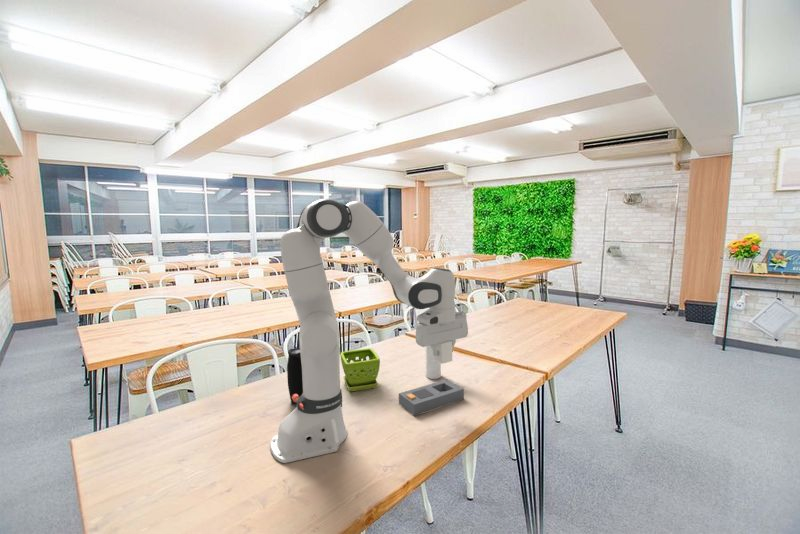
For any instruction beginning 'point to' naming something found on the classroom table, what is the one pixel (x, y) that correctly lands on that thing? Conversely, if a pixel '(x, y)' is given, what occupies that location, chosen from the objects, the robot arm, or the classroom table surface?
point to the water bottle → (432, 364)
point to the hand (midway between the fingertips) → (443, 353)
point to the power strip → (430, 397)
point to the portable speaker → (294, 373)
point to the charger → (444, 352)
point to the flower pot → (360, 369)
